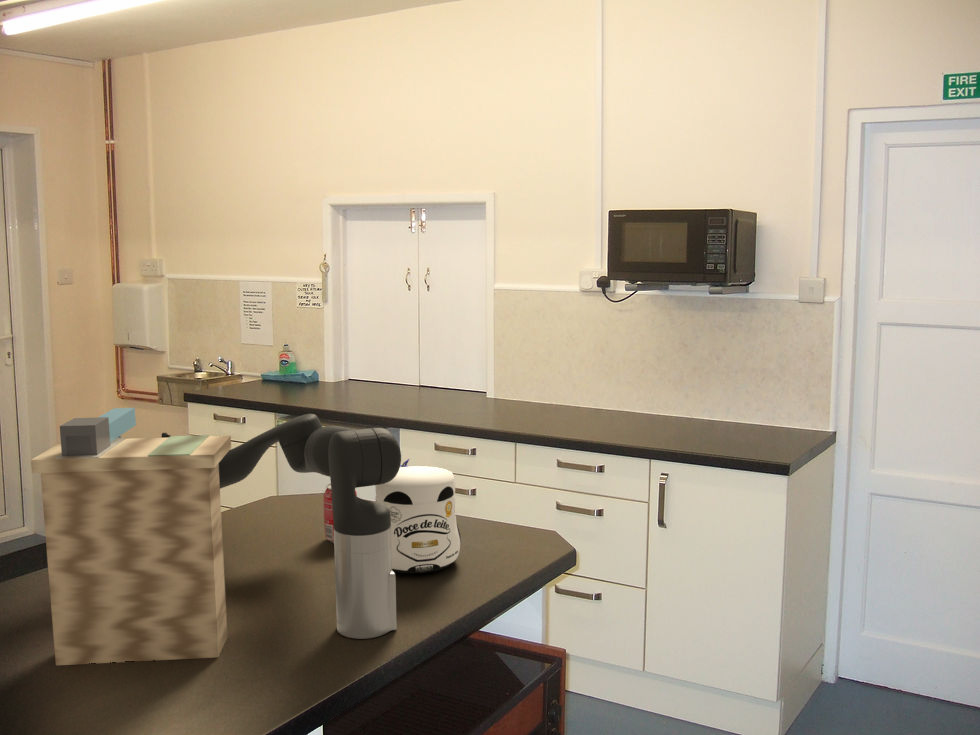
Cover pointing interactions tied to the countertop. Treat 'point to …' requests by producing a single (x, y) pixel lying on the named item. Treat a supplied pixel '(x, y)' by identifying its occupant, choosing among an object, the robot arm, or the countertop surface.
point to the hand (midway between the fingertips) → (138, 438)
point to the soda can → (329, 514)
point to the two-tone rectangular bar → (95, 432)
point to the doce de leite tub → (421, 518)
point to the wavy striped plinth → (136, 550)
